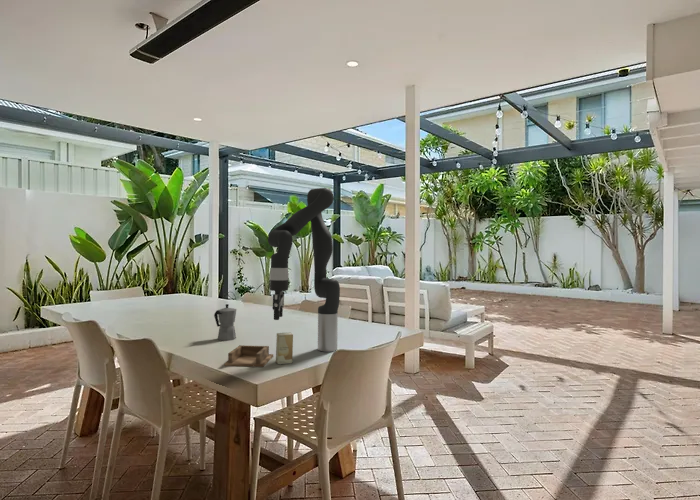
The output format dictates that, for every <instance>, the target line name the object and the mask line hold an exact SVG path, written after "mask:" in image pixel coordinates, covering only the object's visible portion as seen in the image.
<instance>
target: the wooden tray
mask: <svg viewBox="0 0 700 500" xmlns="http://www.w3.org/2000/svg"><path fill="white" fill-rule="evenodd" d="M269 351H270V347H269V345H245V344H244V345H238V346H237V347H235V348H234V349H233V350H231V351H230V352H228V354H227V361H225V362H224V366H226V367H227V366H229V367H230V366H231V367H256V368H257V367H258V368H261V367H262V368H263V367H265V366H266V365H267V364H268V363H269V362H270V361H271V359H273V358H274V354H273V353H270V352H269Z"/></svg>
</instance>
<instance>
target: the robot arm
mask: <svg viewBox="0 0 700 500" xmlns="http://www.w3.org/2000/svg"><path fill="white" fill-rule="evenodd" d="M306 202H307V206H305V207H303V208H301V209H299V210H298V211H296V212H294V213H293V214H291V216H290V217H289V218H287V220H286V221H285V222H284V223H281V224H280V225H278V226H277V227H275V228H274V229H272V230H271V231H270V233H269V234H268V236H267V242H268V244H269V246H270V247H272V248H278V249H277V251H276V252H275V253H273V254H272V255H271V256H270V272H269V290H270V292H271V291H272V292H274V294H272V311H273V321H279V320H280V318H282V317H283V316H284V314H283V310H284V306H285V291H288V290H289V256H290V254H291V250H292V246H293V241H294V240H293V237H294V236H296V235H297V234H298V233H299V232H300V231H302V230H303V228H304V227H305V226H307V225H308V224H309V223H310V228H311V242H312V252H313V265H314V269H313V270H314V274H313V275H314V277H313V279H314V280H313V282H314V283H313V284H314V285H313V286H314V287H313V288H314V293H315V296H316V297H318V298H321V299H325V302H324V304H322V305H320V306H318V308H317V351H320V352H325V353H326V352H327V353H329V352H330V353H331V352H335V350H336V351H337V350H338V321H339V320H338V312H339V311H338V310H339V306H340V296H341V295H340V294H341V287H340V286H341V285H340V283H339V281H338V279H334V278H327V267H328V263H329V262H330V260H331V257H332V255H333V250H334V246H333V236H332V233H331V231H330V230H329V228H328V226H327V225H326V223H325V221H324V219H323V214H322V212H324V211H325V210H326V209H328V208H329V207H331V206H332V205H333V202H334V193H333V191H332V190H331V189H330V188H327V187H318V188H311V189H309V191H308V192H307V195H306Z"/></svg>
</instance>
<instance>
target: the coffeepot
mask: <svg viewBox="0 0 700 500" xmlns="http://www.w3.org/2000/svg"><path fill="white" fill-rule="evenodd" d="M236 315H237V308H235V307H234V308H233V307H229V304H225V307H223V308H220V309H218V310H215V312H214V314H213V317H214V319H215V323H216V327H219V328H218V334H217V340H218V341H221V342H222V341H223V342H224V341H225V342H227V341H233V340H236V339H237V334H236V329H235V326H234V325H235V324H234V323H235V322H236Z"/></svg>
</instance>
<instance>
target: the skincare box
mask: <svg viewBox="0 0 700 500" xmlns="http://www.w3.org/2000/svg"><path fill="white" fill-rule="evenodd" d="M275 344H276V345H275V347H276V350H275V363H276V364H278V365H284V364H285V365H286V364H293V353H294V352H293V350H294V334H293V333H292V332H277V333H276V343H275Z"/></svg>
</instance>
